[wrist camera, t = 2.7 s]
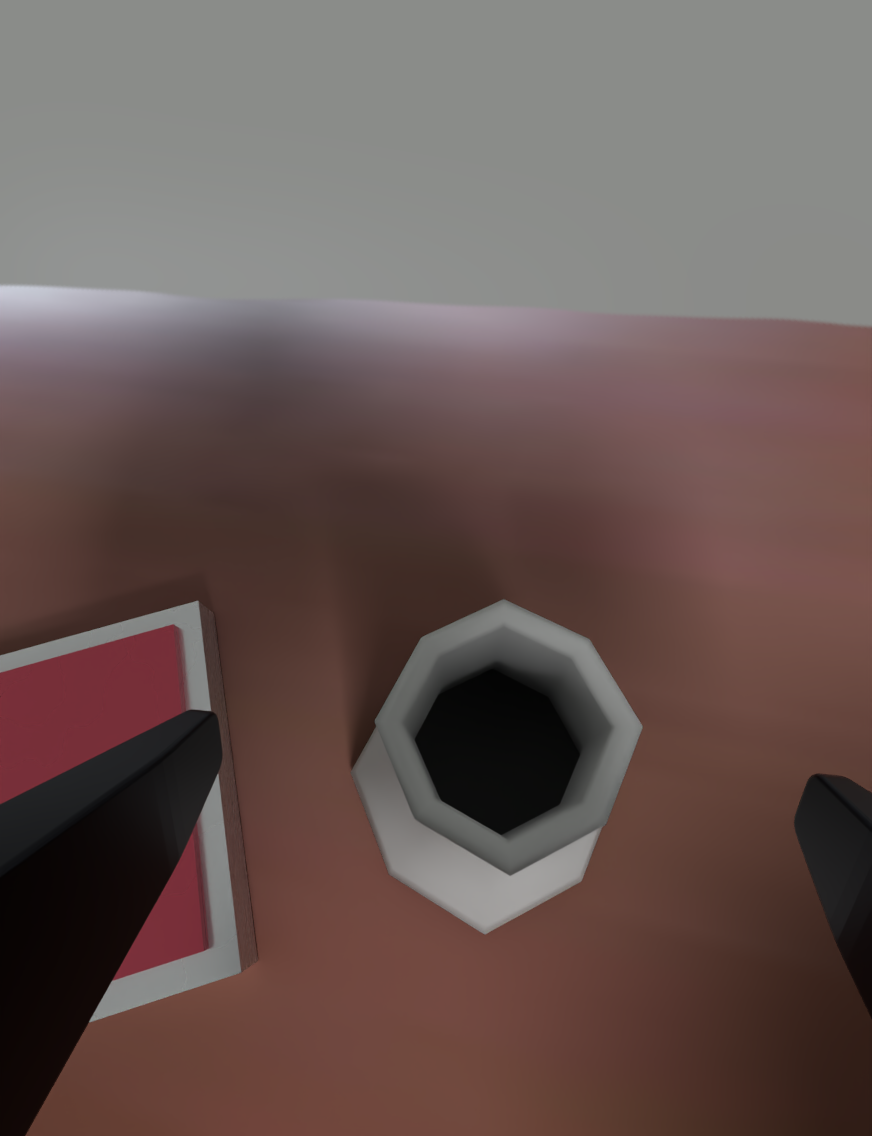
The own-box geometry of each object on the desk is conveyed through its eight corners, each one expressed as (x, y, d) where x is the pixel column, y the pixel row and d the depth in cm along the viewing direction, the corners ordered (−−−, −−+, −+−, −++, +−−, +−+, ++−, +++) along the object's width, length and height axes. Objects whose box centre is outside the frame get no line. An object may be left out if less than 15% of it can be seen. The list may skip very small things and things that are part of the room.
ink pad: (258, 960, 14) (236, 975, 13) (-140, 1091, 14) (-207, 1121, 12) (214, 613, 19) (193, 597, 17) (-95, 699, 18) (-142, 690, 16)
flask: (309, 771, 16) (114, 715, 7) (482, 610, 18) (499, 402, 9) (484, 992, 14) (521, 1316, 5) (663, 780, 16) (931, 732, 7)
